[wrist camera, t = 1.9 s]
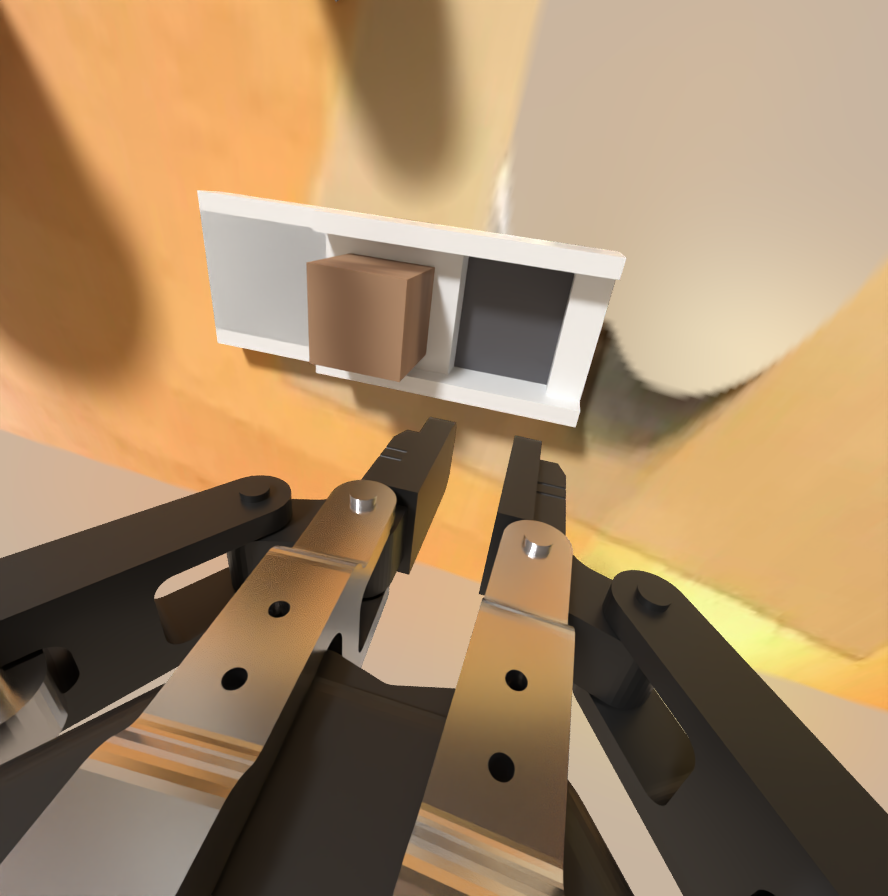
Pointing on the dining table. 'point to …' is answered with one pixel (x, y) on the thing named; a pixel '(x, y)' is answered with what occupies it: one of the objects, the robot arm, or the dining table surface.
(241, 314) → the channel
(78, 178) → the dining table surface
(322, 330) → the walnut block
